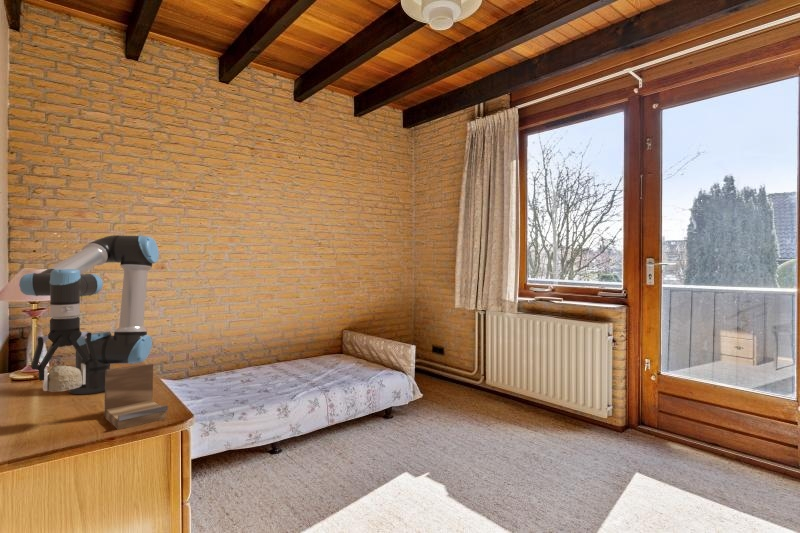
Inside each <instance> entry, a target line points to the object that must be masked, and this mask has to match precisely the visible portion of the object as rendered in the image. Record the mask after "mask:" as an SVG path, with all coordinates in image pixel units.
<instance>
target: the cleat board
mask: <svg viewBox="0 0 800 533" xmlns="http://www.w3.org/2000/svg"><path fill="white" fill-rule="evenodd" d="M153 379H154V363H146V364H145V363H143V364H138V365H131V366H122V367H115V368H110V369H107V370H105V391H104V415H103V417H104V418H105V420H107V421H108V422H109V423H110V424H111V425H112V426H114V428H115V429H116V430H117V431H118V430H122V429H127V428H131V427H136V426H140V425H144V424H149V423H153V422H157V421H161V420H166V419H167V413H168V412H167V411H168V410H169V406H168V405H167V404H166V405H160V404H159V403H157V402H155V401H154V400H153V398H154V397H153V389H154V388H153V386H154V380H153Z"/></svg>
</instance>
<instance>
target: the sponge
mask: <svg viewBox="0 0 800 533" xmlns="http://www.w3.org/2000/svg"><path fill="white" fill-rule="evenodd" d="M48 371H49V372H48V384H47V391H48V392H52V393H55V392H56V393H57V392H58V393H59V392H66V391H69V390H71V389H75V388H78V387H81V385H82V383H83V382H82V371H80V369H78V368H76V367H75V366H72V365H65V364H58V365H54V366H52V367H50V369H49V370H48ZM47 391H46V392H47Z"/></svg>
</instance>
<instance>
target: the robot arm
mask: <svg viewBox="0 0 800 533" xmlns="http://www.w3.org/2000/svg"><path fill="white" fill-rule="evenodd" d="M159 256H160V253H159V247H158V244H157V242H156V240H155V239H154V238H153V237H152V236H145V235H117V234H116V235H115V234H114V235H107V236H104V237H101V238H98V239H96V240H93V241H91V242H88V243H87V244H85V245H84V246H83V247H82V248H81V250H80V251H78V252H76V253H74V254H73V255H70V256H68V257H66V258H65V259H64V260H61V261H60V262H58V263H57V264H54V265H53V266H51V267H49V268H47V269H45V270H43V271H41V272H39V273H36V272H31V273H25V274H23V275H22V276H21V277H20V280H19V283H18V284H19V285H18V286H19V290H20V292H21V293H22V294H24V295H26V296H35V297H38V296H40V297H42V296H43V297H45V296H46V297H47V296H49V297H50V298H49V300H50V301H49V317H51V318H50V319H49V333H48V335H42V336H40V335H39V336H36V347H35V351H34V353H33V358H32V360H31V364H30V368H31V369H32V370H37V371H38V381H42V390H43V391H44V392H47V384H48V374H49V372H48V371H49V370H48V369H47V368H46V367H47V366H48V364H49V362H50V360H51V359H52V357H53V355H54V354H55V352H56V351H57V349H58V348H62V347H71V346H72V347H73V348H74V349H75V361H74V362H75V364H74V365H75V367H76V368H78V369H80V371H82V382H83V383H82V385H81V387H78V388H75V389H71V390H68V392H69V393H70V394H72V395H89V394H90V395H91V394H97V393H101V392H102V393H103V392H105V370H107V369H111V365H112V364H113V365H116V364H117V365H118V364H119V365H120V364H123V365H124V364H125V365H126V364H127V365H128V364H129V365H132V364H140V363H143V362H144V361H146V360H147V359H148V356H150V353H151V351H152V347H153V340H152V337H151V336H150V335H149V334H148V330H147V329H146V328H145V327H144V321H145V310H146V309H145V308H146V297H147V296H146V294H147V287H148V286H147V284H148V272H150V270H151V269H152V268H153V264H156V263H157V262H158V260H159ZM105 263H119V266H120V268H122V269H123V279H122V289H121V291H122V292H121V301H120V313H119V324H118V325H119V327H117V328H116V329H115V330H114V332H113V335H112V332H111V331H101V332H100V331H99V332H94V333H92V332H90V331H85V332H84V331H83V332H82V331H81V329H80V328H81V327H80V325H81V323H80V322H81V321H80V320H81V318H80V317H79V316H80V312H81V309H80V308H81V307H80V306H81V305H80V303H81V302H80V301H81V297H87V296H89V297H90V296H91V297H92V296H94V295H96V294H98V293H99V292H100V291H102V289H103V287H104V286H103V285H104V282H103V279H102V278H101V277H100V276H99V275H97V274H96V273H86V272H88V271H90V270H91V269H92V268H94V267H96V266H101V265H105ZM47 340H49V341H50V342H51V345H50V347H49V349H48V350H47V352H46V353H45V355H44V356H43V358H42V360H41V362H40V359H41V355H42V352H43V349H44V344H45V343H47ZM39 362H40V363H39Z"/></svg>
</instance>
